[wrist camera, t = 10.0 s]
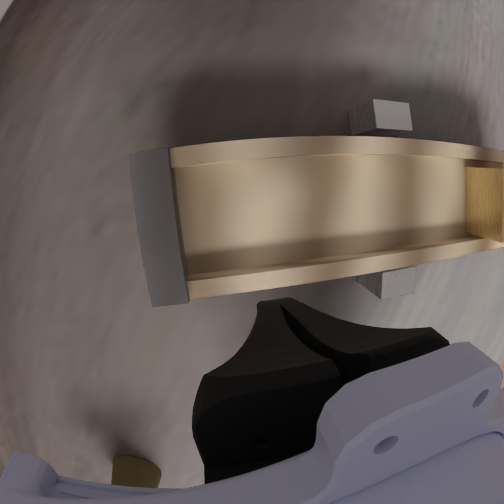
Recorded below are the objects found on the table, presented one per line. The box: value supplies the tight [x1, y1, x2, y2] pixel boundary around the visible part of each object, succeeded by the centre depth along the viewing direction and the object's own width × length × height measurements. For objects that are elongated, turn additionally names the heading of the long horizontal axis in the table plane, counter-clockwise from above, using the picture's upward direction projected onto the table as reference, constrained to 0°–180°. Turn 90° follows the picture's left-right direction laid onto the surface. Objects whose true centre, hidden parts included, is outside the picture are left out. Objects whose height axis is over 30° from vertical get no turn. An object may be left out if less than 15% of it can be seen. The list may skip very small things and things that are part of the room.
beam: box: [129, 136, 504, 307], centre depth 18 cm, size 31×9×4 cm, turn 95°
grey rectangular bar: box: [348, 99, 416, 300], centre depth 20 cm, size 3×14×4 cm, turn 5°
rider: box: [464, 167, 504, 243], centre depth 16 cm, size 6×5×4 cm
